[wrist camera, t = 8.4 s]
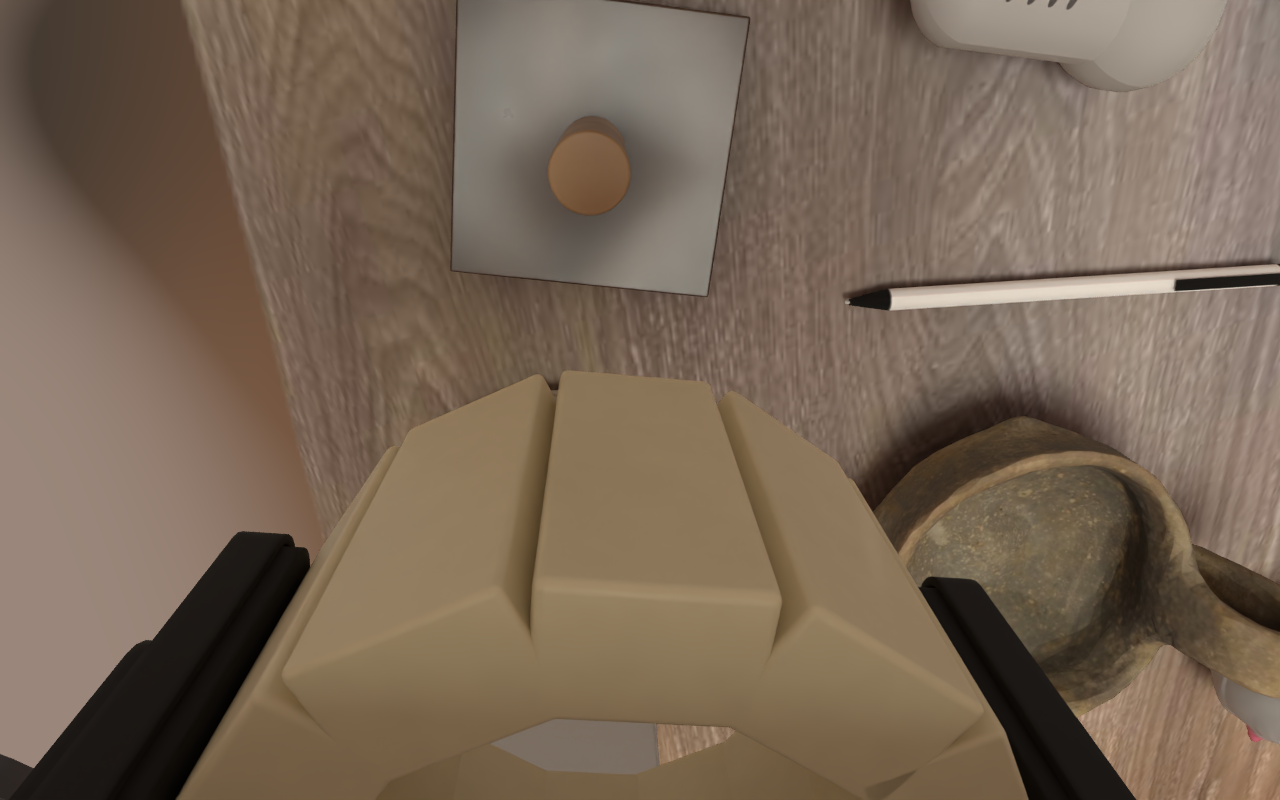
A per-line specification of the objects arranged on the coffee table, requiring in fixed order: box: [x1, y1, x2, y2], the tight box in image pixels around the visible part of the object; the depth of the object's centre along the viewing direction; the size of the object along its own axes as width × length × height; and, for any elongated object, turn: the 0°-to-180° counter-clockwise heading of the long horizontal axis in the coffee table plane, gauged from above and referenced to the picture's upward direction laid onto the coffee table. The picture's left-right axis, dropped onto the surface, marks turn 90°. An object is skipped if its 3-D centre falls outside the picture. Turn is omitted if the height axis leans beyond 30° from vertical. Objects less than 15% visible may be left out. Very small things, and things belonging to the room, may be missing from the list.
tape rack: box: [450, 0, 750, 297], centre depth 26 cm, size 10×10×8 cm
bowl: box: [873, 416, 1280, 718], centre depth 33 cm, size 14×18×10 cm
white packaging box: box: [490, 719, 660, 774], centre depth 34 cm, size 7×7×13 cm
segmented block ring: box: [175, 370, 1029, 800], centre depth 8 cm, size 7×7×4 cm
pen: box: [845, 264, 1280, 310], centre depth 32 cm, size 1×19×1 cm, turn 93°
